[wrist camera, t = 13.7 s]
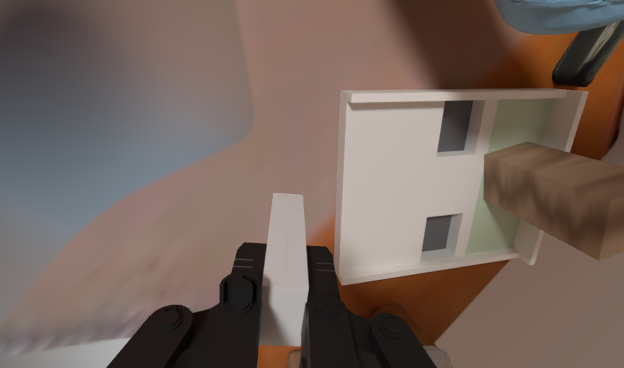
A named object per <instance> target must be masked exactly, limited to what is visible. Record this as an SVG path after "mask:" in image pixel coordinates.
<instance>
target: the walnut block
mask: <svg viewBox="0 0 624 368" xmlns="http://www.w3.org/2000/svg"><path fill="white" fill-rule="evenodd" d="M483 199H485V200H487V201H489V202H491V203H492V204H494V205H496V206H498V207H500V208H502V209H504V210H505V211H507V212H509V213H511V214H513V215H515V216H517V217H518V218H520V219H522V220H524V221H526V222H528V223H530V224H531V225H533V226H535V227H537V228H539V229H541V230H543V231H545V232H546V233H548V234H550V235H552V236H554V237H556V238H558V239H559V240H561V241H563V242H565V243H567V244H569V245H571V246H573V247H574V248H576V249H578V250H580V251H582V252H584V253H586V254H587V255H589V256H591V257H593V258H595V259H597V260H602V259H604V258H607V257H610V256H612V255H615V254H618V253H620V252H623V251H624V167H622V166H618V165H614V164H610V163H607V162H603V161H599V160H595V159H591V158H588V157H584V156H580V155H576V154H573V153H569V152H565V151H561V150H557V149H554V148H550V147H546V146H542V145H538V144H535V143H531V142H524V143H521V144H517V145H514V146H511V147H507V148H504V149H501V150H498V151H494V152H491V153H488V154H484V190H483Z"/></svg>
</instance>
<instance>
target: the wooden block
mask: <svg viewBox="0 0 624 368" xmlns="http://www.w3.org/2000/svg"><path fill="white" fill-rule="evenodd" d="M300 357H301V350H297V351H292V352H290V353H289V355H288V359H287V368H299V363H300Z"/></svg>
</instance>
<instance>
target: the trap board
mask: <svg viewBox="0 0 624 368" xmlns="http://www.w3.org/2000/svg"><path fill="white" fill-rule="evenodd" d="M588 93H589V91H576V90H564V89H551V88H511V89H429V90H347V91H340V112H339V139H338V165H337V192H336V218H335V244H334V267H335V272H336V274H337V276H338V279H339V281H340V283H341V285H349V284H355V283H362V282H368V281H374V280H381V279H387V278H393V277H400V276H406V275H413V274H419V273H425V272H432V271H438V270H445V269H451V268H457V267H464V266H470V265H476V264H483V263H489V262H496V261H502V260H508V259H514V258H520V259H521V260H522V261H524V262H525V263H527V264H529V265H533V264H535V261H536V258H537V255H538V252H539V249H540V245H541V242H542V239H543V236H544V233H545V231H543V230H541V229H539V228H537V227H535V226H533V225H531V224H530V223H528V222H526V221H524V220H522V219H520V218H518V217H517V216H515V215H513V214H511V213H509V212H507V211H505V210H504V209H502V208H500V207H498V206H496V205H494V204H492V203H491V202H489V201H487V200H485V199H483V190H484V154H488V153H491V152H494V151H498V150H501V149H504V148H507V147H511V146H514V145H517V144H521V143H524V142H531V143H535V144H538V145H542V146H546V147H550V148H554V149H557V150H561V151H565V152H569V153H570V150H571V147H572V144H573V140H574V137H575V134H576V131H577V128H578V124H579V121H580V118H581V115H582V112H583V108H584V105H585V102H586V99H587V96H588Z"/></svg>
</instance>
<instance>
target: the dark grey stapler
mask: <svg viewBox="0 0 624 368" xmlns="http://www.w3.org/2000/svg"><path fill="white" fill-rule="evenodd" d="M623 37H624V20H622V21H619V22H616V23H613V24H609V25H606V26H602V27H598V28H593V29H589V30H584V31H580V32H579V33H578V35H577V36H576V37H575V39H574V40H573V41H572V43H571V44H570V46H569V47H568V49H567V50H566V52H565V53H564V55H563V56H562V58H561V59H560V61H559V62H558V64H557V65H556V67H555V69H554V71H553V80H554V81H555V82H556V83H557V84H558V85H566V86H577V87H587V86H588V85H589V84H590V83H591V82H592V81H593V79H594V77H595V76H596V74H597V73H598V72H599V70H600V69H601V67H602V66H603V65H604V63H605V62H606V61H607V59H608V58H609V57H610V56H611V54H612V53H613V51H614V50H615V48H616V47H617V46H618V44H619V43H620V41H621V40H622V39H623Z"/></svg>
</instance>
